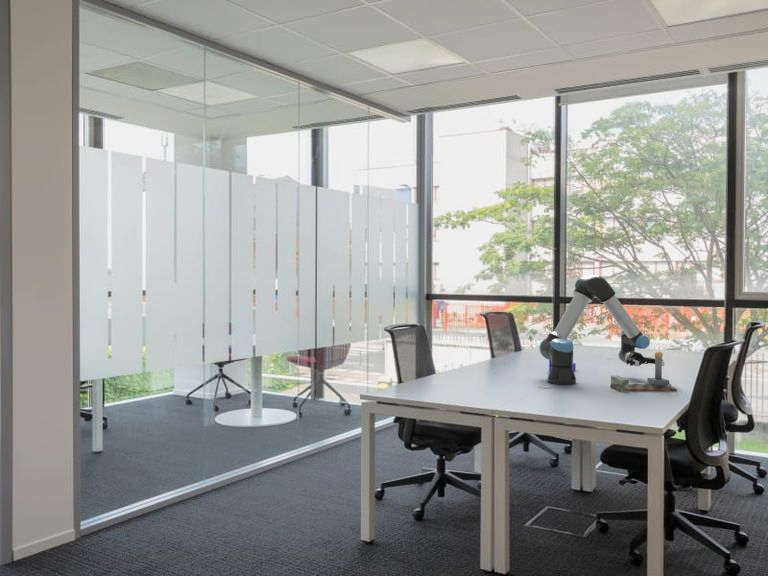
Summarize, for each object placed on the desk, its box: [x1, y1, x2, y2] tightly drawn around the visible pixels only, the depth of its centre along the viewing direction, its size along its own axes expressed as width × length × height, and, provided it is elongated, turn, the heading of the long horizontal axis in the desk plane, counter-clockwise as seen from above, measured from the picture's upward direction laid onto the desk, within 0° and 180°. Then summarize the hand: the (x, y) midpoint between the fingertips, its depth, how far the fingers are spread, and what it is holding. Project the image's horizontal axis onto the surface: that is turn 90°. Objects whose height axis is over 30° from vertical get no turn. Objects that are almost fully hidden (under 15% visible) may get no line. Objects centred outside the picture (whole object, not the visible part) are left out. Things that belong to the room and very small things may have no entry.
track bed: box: [609, 375, 678, 393], centre depth 354 cm, size 30×14×6 cm, turn 92°
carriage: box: [646, 350, 670, 386], centre depth 355 cm, size 8×8×18 cm
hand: (651, 363), depth 364 cm, fingers open, 13 cm apart
